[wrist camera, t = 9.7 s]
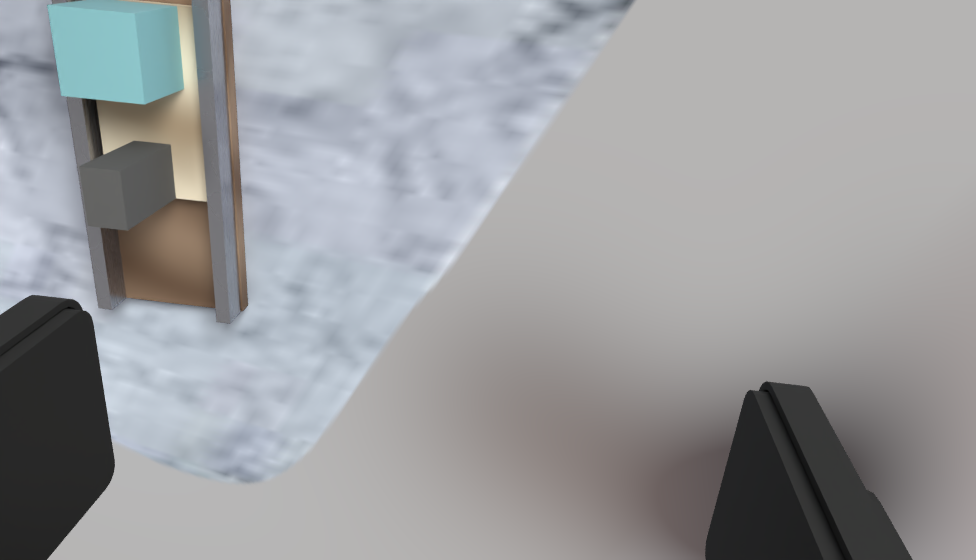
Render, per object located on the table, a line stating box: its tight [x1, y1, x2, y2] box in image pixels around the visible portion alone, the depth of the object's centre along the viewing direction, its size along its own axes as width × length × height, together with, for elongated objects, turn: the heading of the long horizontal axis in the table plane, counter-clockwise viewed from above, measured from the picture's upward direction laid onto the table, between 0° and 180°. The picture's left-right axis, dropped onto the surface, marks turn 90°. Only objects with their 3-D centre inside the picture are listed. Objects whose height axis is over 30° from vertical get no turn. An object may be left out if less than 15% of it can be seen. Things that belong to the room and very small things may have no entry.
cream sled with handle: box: [79, 0, 207, 231], centre depth 37 cm, size 10×6×6 cm, turn 175°
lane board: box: [52, 0, 248, 323], centre depth 41 cm, size 18×8×2 cm, turn 175°
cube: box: [47, 0, 184, 105], centre depth 36 cm, size 4×4×4 cm
